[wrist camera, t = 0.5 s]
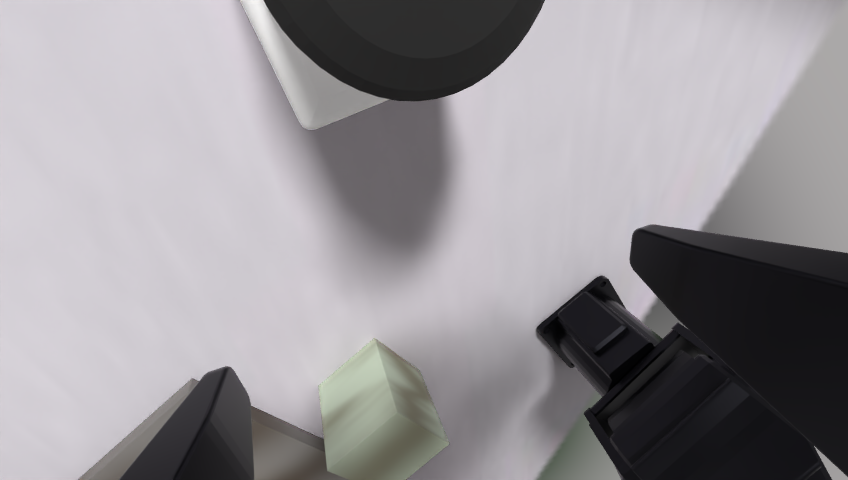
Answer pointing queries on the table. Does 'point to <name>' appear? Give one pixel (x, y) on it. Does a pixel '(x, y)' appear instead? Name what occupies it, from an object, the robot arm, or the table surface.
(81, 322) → the table surface
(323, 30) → the medicine bottle
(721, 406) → the robot arm
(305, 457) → the grey and cream panel
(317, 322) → the table surface
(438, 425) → the sage block
